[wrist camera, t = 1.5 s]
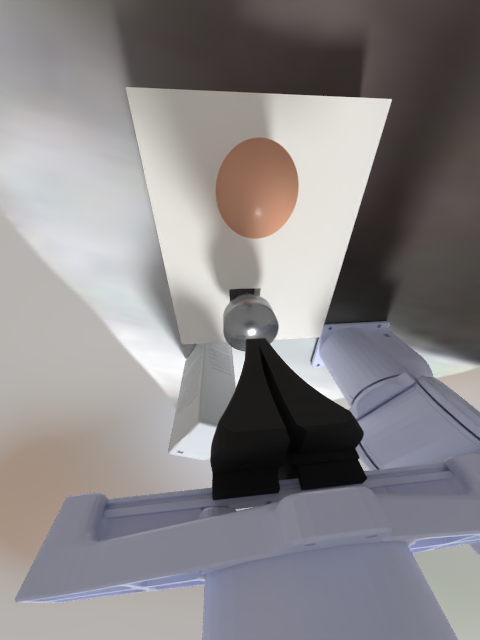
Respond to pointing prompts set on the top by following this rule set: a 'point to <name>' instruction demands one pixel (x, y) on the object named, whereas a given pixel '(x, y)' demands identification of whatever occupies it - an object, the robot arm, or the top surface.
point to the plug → (248, 320)
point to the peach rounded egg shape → (257, 188)
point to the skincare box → (202, 399)
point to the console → (207, 223)
